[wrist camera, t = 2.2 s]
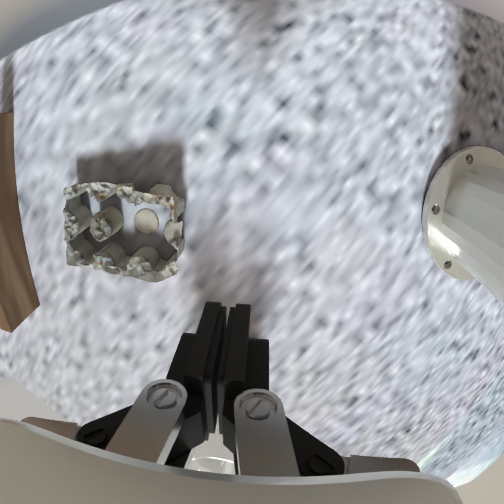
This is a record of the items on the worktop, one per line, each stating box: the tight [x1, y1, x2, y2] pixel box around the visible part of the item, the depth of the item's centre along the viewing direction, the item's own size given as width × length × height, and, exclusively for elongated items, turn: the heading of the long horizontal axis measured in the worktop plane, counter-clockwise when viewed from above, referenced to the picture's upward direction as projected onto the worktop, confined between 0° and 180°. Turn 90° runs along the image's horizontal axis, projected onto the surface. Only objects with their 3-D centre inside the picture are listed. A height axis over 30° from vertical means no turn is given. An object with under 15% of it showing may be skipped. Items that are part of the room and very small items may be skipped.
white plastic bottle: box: [188, 417, 235, 475], centre depth 25 cm, size 7×7×15 cm
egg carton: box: [63, 182, 185, 282], centre depth 23 cm, size 11×8×4 cm
